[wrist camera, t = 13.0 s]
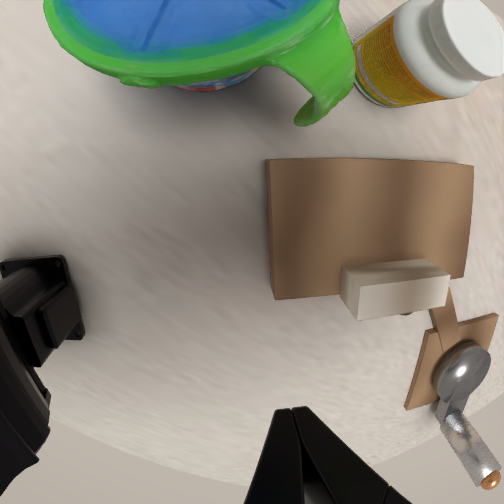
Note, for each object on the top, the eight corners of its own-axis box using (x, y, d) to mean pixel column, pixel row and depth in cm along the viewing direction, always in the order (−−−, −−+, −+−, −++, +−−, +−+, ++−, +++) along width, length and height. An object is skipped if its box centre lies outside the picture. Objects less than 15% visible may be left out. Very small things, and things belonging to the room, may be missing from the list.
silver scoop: (440, 352, 22) (515, 441, 11) (487, 333, 22) (562, 404, 11) (418, 428, 25) (463, 509, 14) (462, 410, 25) (511, 478, 15)
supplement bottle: (370, 20, 15) (452, -41, 6) (428, 72, 17) (528, 47, 7) (330, 71, 17) (408, 16, 7) (393, 125, 18) (499, 119, 9)
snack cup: (76, 22, 14) (-10, -37, 4) (200, -66, 13) (189, -161, 3) (221, 186, 18) (210, 223, 9) (355, 84, 17) (456, 40, 7)
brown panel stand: (274, 431, 25) (281, 475, 20) (265, 159, 18) (278, 161, 13) (470, 384, 26) (493, 411, 21) (516, 170, 19) (557, 179, 14)
